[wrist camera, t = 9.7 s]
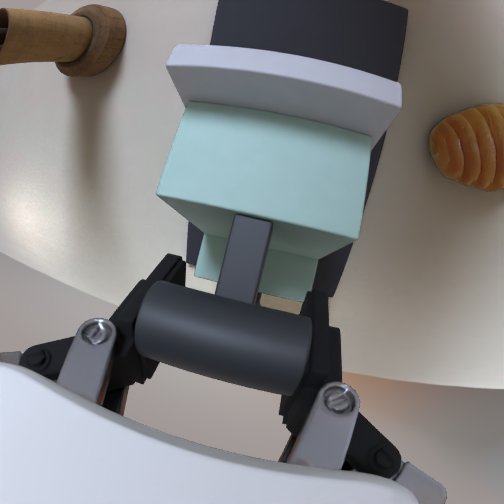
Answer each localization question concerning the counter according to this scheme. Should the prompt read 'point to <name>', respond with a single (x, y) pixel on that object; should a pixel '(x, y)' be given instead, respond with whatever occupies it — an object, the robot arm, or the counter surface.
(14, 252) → the counter surface
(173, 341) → the iron
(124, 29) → the mortar and pestle
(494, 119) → the pastry
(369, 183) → the iron mat
